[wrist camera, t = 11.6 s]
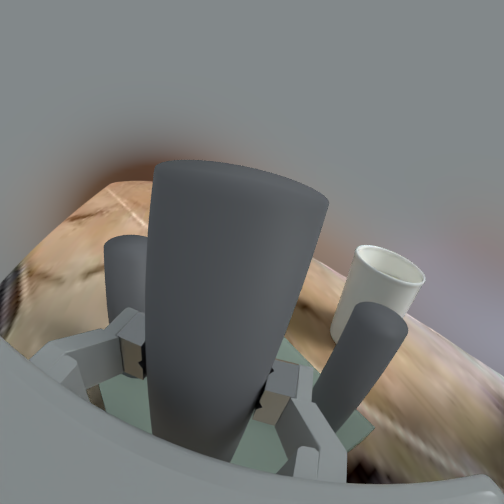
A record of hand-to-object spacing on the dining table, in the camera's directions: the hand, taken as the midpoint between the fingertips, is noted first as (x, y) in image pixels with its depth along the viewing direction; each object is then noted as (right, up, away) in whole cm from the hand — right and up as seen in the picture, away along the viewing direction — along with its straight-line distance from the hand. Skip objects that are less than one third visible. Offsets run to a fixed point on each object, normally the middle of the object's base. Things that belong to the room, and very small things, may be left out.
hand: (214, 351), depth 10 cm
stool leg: (-2, -7, +2) cm, 8 cm away
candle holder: (+16, -9, +27) cm, 33 cm away
